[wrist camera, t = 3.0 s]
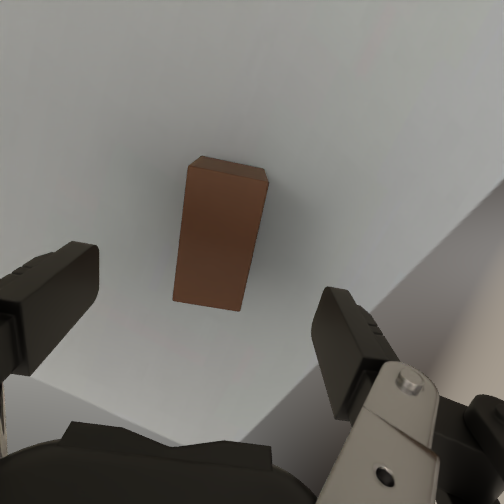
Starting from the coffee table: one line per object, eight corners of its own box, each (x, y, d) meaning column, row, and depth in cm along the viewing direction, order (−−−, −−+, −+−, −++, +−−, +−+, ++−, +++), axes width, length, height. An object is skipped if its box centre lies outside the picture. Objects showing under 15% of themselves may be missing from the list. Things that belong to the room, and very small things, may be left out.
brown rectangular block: (186, 267, 19) (172, 301, 16) (201, 155, 16) (187, 165, 13) (241, 276, 20) (240, 312, 16) (264, 168, 17) (269, 182, 13)
